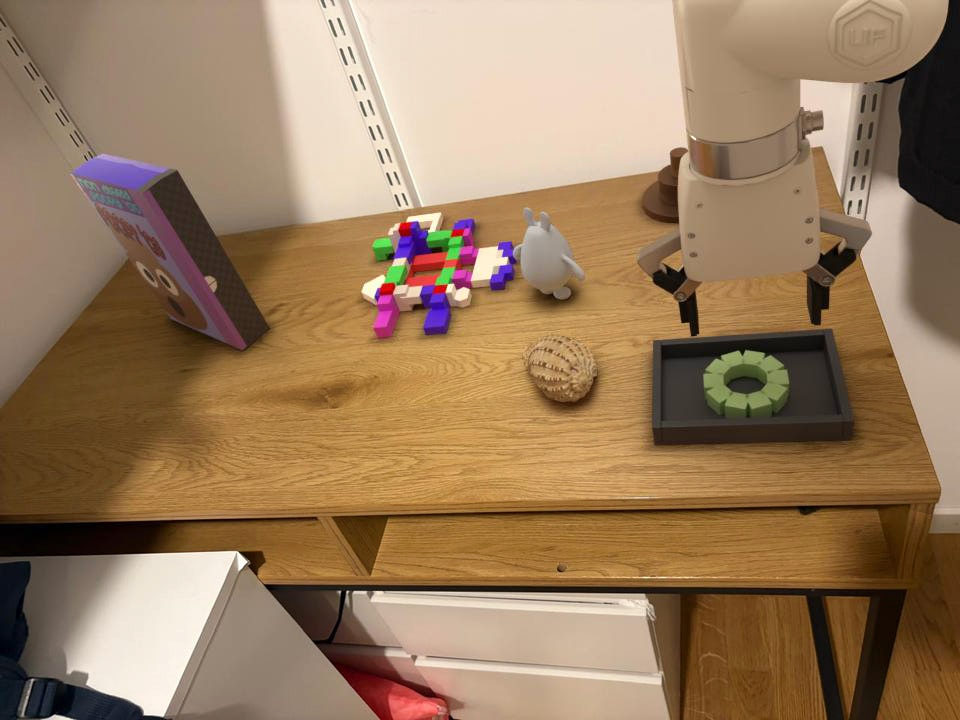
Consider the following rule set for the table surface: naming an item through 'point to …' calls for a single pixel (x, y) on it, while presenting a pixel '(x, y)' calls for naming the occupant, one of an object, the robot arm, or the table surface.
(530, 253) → the toy figure
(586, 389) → the seashell
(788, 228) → the robot arm
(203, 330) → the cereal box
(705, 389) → the ring
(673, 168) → the stand
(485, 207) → the table surface
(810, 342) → the tray
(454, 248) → the building block set
